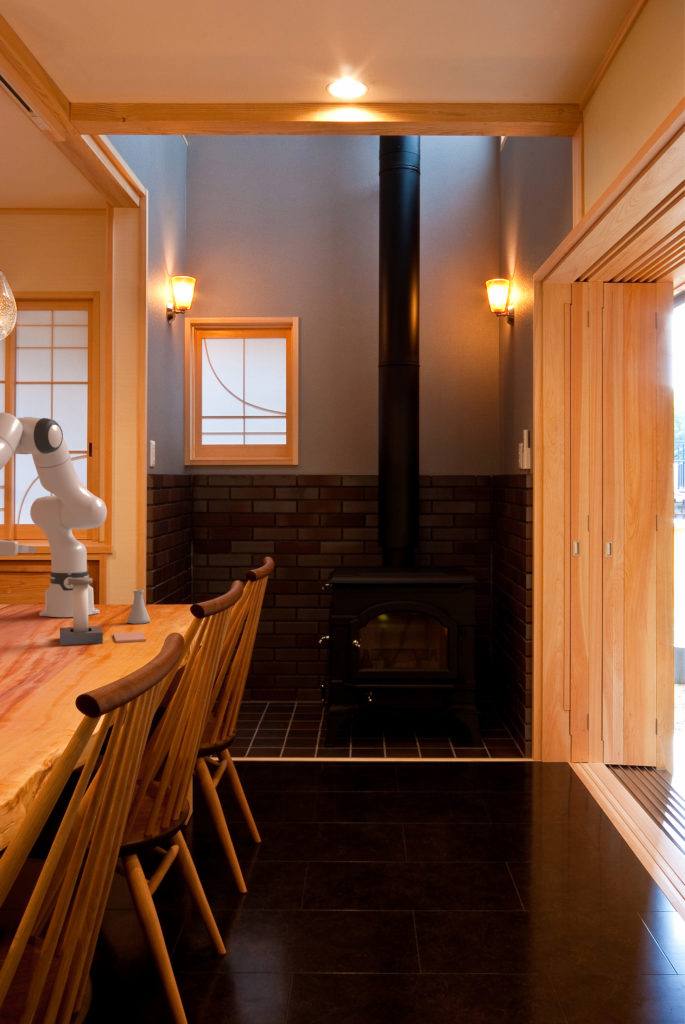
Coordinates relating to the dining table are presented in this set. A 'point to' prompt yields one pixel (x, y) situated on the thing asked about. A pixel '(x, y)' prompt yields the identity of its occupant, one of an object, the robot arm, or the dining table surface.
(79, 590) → the peg
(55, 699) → the dining table surface
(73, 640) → the eye block
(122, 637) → the pad
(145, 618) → the flask
